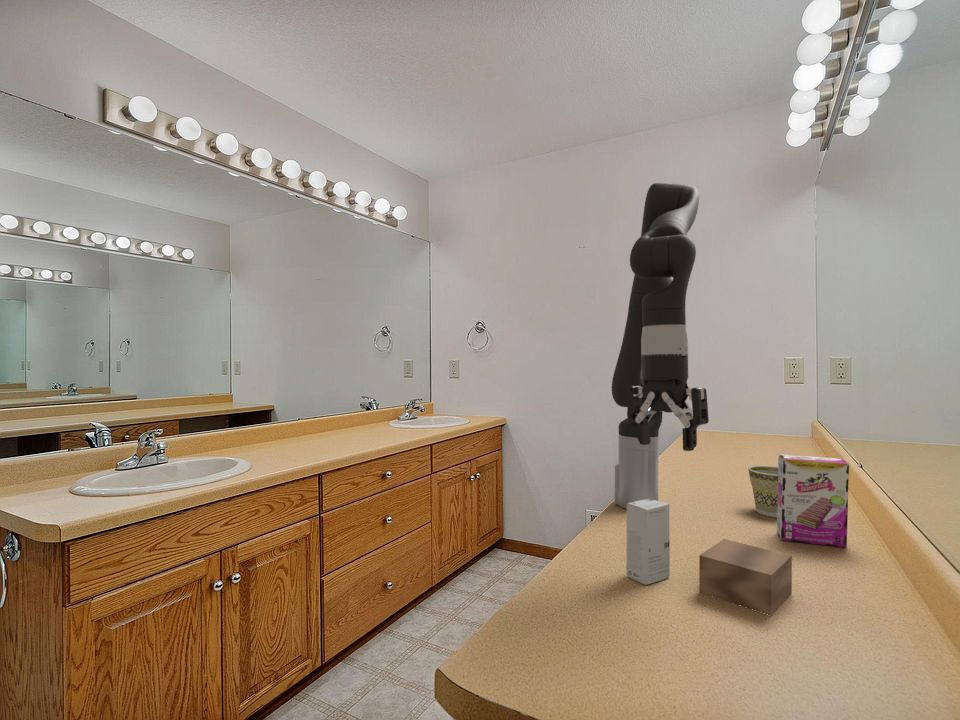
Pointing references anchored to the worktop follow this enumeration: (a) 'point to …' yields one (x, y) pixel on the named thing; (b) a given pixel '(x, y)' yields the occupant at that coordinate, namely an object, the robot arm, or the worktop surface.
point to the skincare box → (648, 541)
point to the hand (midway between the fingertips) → (666, 447)
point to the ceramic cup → (765, 489)
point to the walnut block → (746, 575)
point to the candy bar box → (812, 500)
